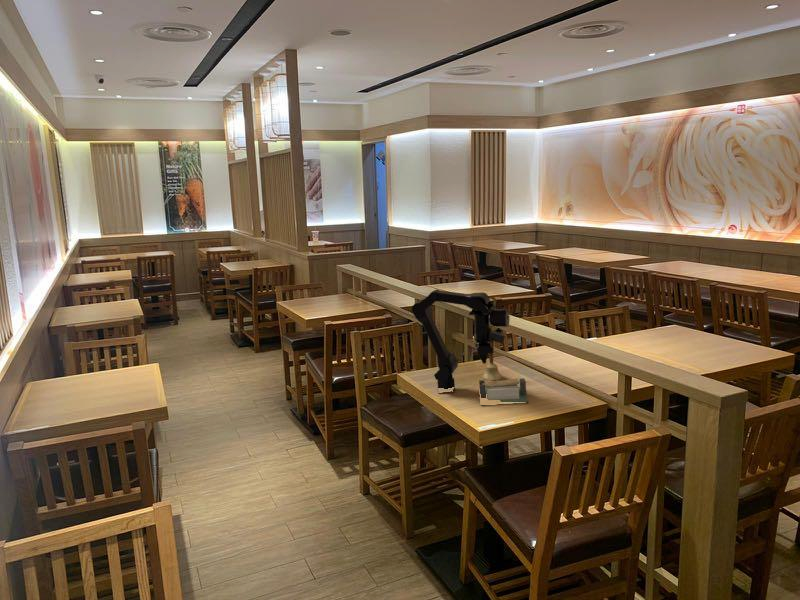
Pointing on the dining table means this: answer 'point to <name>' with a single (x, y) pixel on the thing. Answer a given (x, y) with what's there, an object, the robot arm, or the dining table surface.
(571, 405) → the dining table surface
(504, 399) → the heatsink board
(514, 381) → the wooden plank
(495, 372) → the hand bell
